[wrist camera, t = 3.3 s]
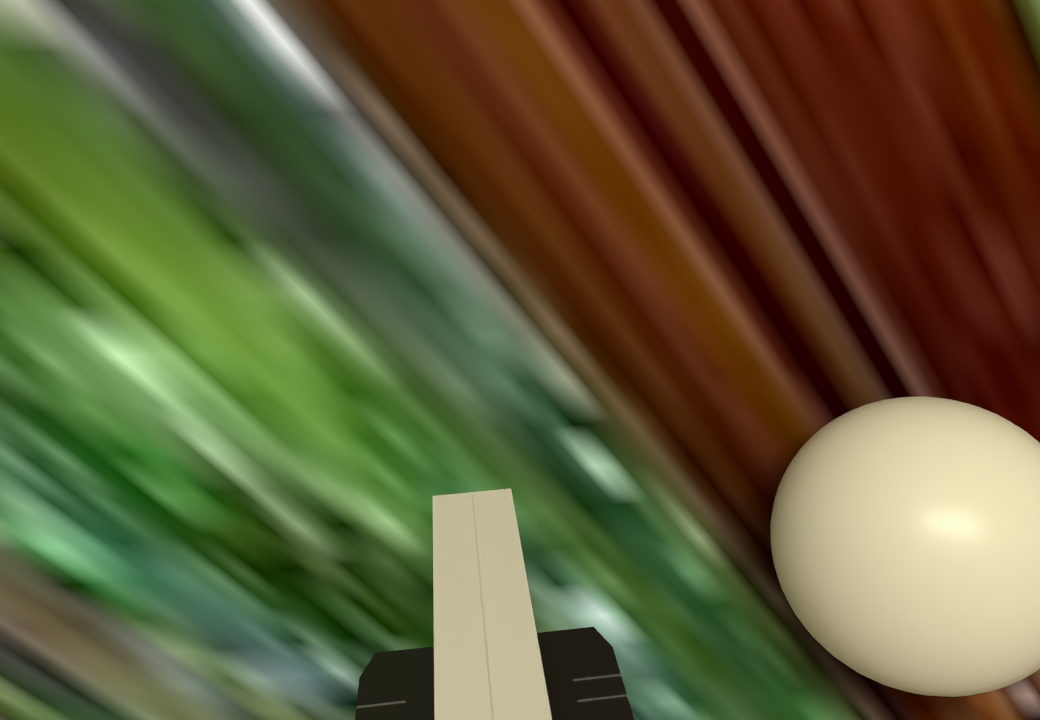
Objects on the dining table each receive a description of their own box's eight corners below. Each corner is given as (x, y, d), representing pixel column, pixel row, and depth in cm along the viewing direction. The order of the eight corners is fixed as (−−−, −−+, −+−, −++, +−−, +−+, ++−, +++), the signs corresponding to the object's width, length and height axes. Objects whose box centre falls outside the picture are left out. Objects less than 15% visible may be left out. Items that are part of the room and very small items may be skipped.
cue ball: (991, 343, 18) (1218, 471, 13) (955, 561, 20) (1137, 747, 15) (736, 366, 17) (866, 506, 12) (726, 587, 19) (833, 786, 14)
